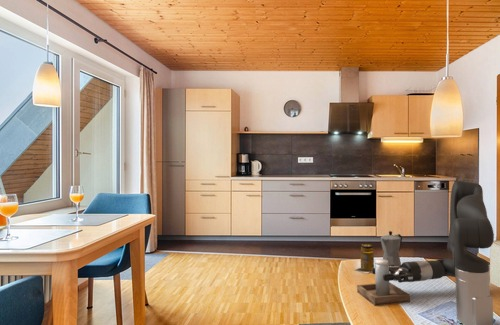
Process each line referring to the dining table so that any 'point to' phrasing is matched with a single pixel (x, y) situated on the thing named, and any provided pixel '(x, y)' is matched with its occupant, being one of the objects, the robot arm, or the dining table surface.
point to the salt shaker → (381, 277)
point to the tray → (394, 297)
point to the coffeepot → (391, 248)
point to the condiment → (366, 259)
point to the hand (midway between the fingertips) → (378, 274)
